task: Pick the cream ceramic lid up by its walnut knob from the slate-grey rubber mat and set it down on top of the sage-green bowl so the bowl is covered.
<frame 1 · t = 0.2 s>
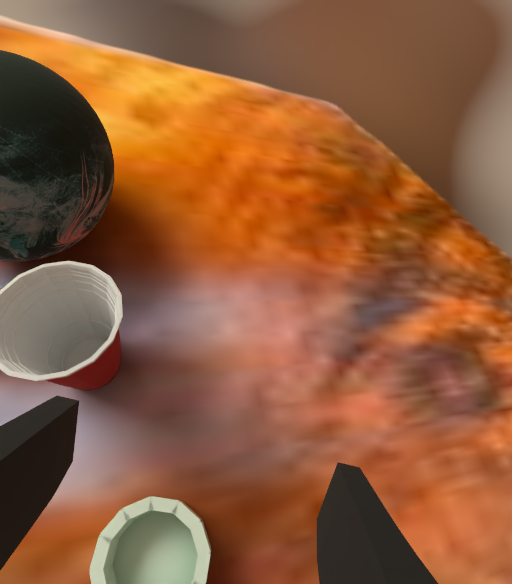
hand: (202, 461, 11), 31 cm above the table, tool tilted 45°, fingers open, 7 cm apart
bowl: (157, 556, 36), on the table
plastic cup: (92, 361, 43), on the table
decorative sphere: (46, 223, 51), on the table
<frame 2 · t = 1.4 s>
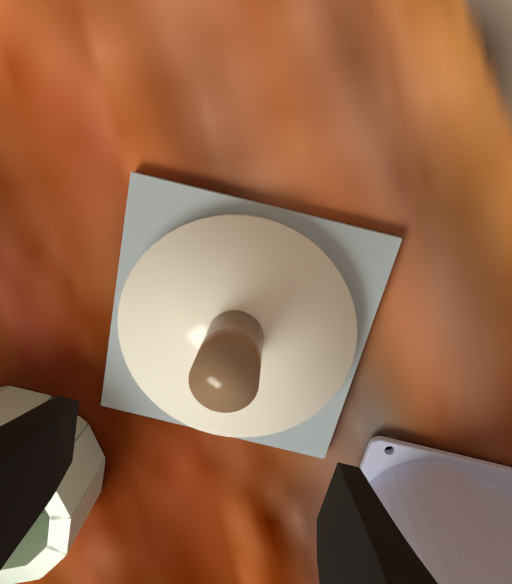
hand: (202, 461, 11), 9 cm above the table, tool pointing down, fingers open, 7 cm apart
mat: (238, 325, 20), on the table
bowl: (26, 457, 23), on the table
lid: (237, 329, 20), resting on mat
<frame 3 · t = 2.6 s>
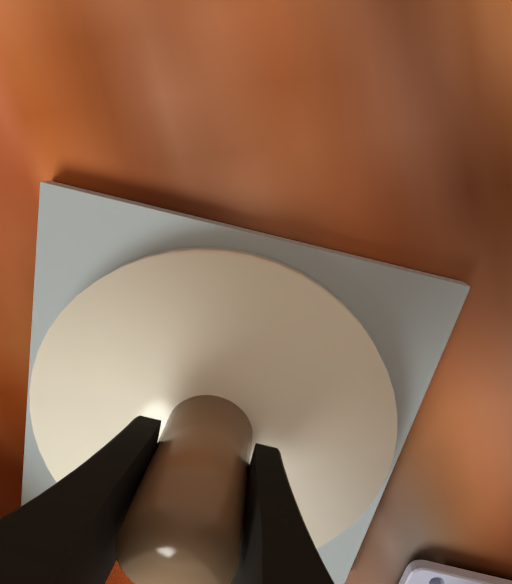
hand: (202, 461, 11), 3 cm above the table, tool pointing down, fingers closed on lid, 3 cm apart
mat: (216, 407, 14), on the table
lid: (213, 416, 13), resting on mat, touching gripper
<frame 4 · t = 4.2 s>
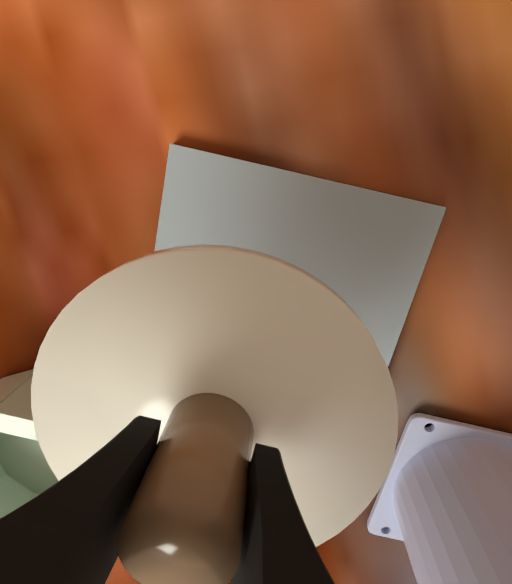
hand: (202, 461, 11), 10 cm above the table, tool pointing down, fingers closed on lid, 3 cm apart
mat: (276, 301, 20), on the table
bowl: (58, 440, 23), on the table
lid: (214, 414, 13), point 8 cm above the table, touching gripper
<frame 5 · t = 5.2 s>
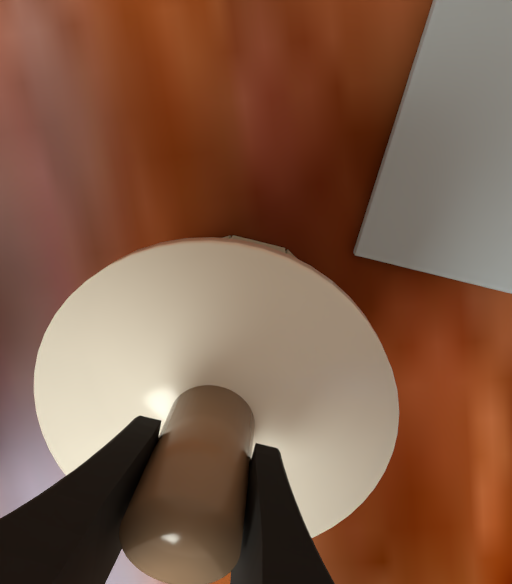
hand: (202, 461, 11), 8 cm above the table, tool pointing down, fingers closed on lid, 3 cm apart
lid: (216, 406, 13), point 6 cm above the table, touching gripper
when the fingers open (7 cm above the table, at t = 5.6 s): lid stays where it is, resting on bowl.
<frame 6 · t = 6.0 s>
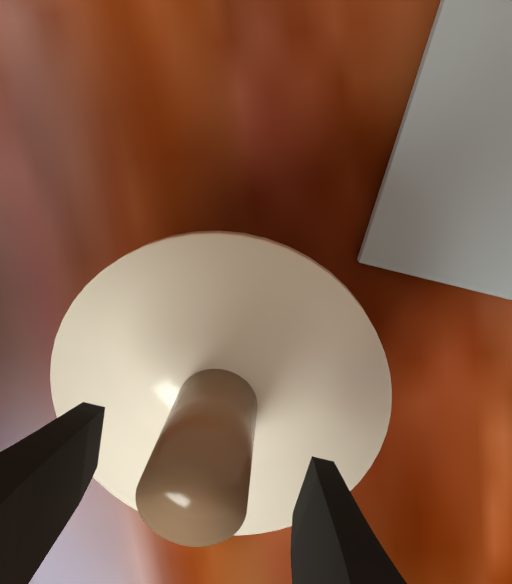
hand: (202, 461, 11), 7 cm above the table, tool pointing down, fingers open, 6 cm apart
lid: (220, 391, 14), point 4 cm above the table, touching bowl
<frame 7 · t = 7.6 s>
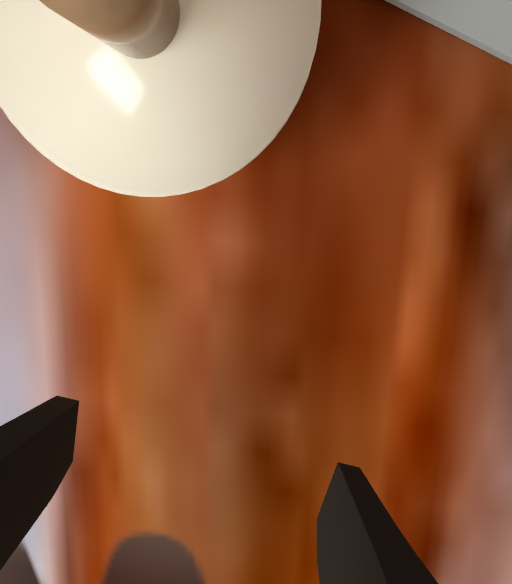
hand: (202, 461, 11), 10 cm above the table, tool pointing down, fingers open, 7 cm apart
lid: (145, 18, 13), point 4 cm above the table, touching bowl
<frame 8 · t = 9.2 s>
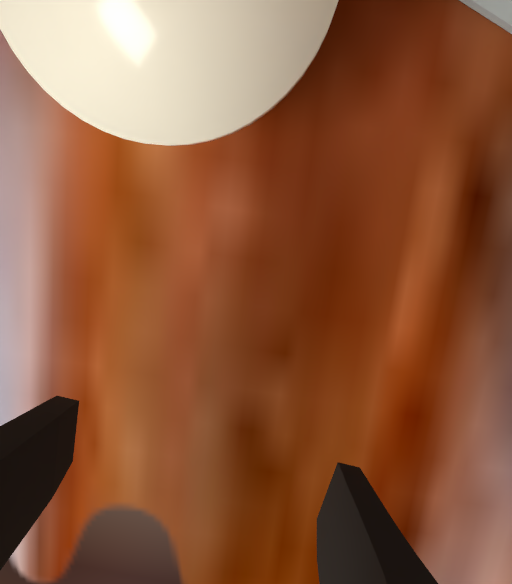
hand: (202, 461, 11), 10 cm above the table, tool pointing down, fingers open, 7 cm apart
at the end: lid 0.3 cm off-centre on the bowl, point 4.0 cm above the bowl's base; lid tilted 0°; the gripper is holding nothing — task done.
